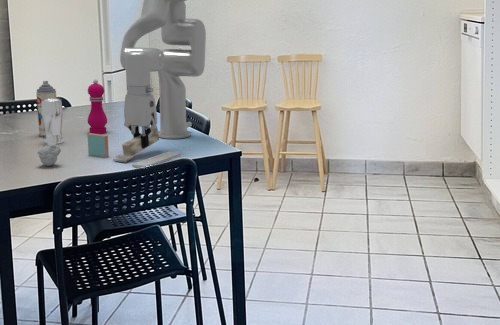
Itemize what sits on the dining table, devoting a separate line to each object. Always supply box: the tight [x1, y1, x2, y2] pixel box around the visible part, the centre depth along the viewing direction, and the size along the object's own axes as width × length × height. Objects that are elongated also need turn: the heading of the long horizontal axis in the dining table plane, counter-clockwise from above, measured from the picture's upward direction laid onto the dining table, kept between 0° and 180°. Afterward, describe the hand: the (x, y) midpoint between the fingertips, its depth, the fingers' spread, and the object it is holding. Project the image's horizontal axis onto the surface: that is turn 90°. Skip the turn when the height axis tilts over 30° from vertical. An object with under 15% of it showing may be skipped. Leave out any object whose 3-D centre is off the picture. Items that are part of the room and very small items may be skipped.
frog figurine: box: [37, 143, 62, 167], centre depth 199 cm, size 6×7×7 cm
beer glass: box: [42, 98, 64, 145], centre depth 229 cm, size 7×7×15 cm
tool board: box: [131, 151, 182, 169], centre depth 206 cm, size 19×5×1 cm, turn 153°
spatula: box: [112, 128, 160, 163], centre depth 212 cm, size 20×5×4 cm, turn 152°
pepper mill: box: [87, 79, 108, 135], centre depth 246 cm, size 7×7×20 cm
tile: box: [87, 132, 110, 159], centre depth 212 cm, size 2×7×7 cm, turn 63°
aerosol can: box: [36, 80, 57, 138], centre depth 240 cm, size 7×7×20 cm
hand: (141, 146), depth 214 cm, fingers closed on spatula, 2 cm apart
